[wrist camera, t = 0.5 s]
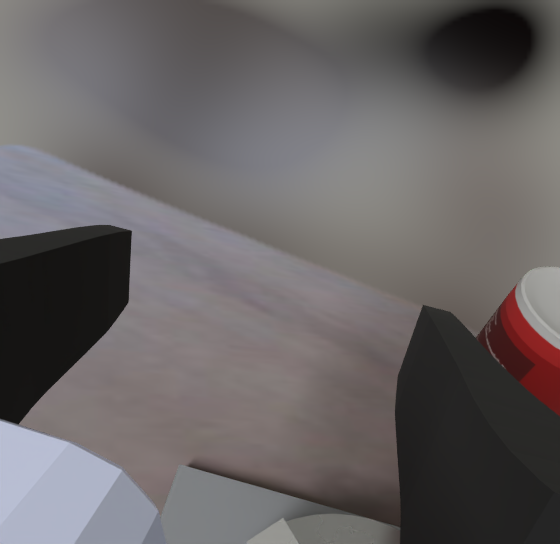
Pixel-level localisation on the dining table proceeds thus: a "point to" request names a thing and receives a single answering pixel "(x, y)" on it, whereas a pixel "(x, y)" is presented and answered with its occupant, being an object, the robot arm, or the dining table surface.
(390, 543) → the round dial
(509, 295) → the canned food
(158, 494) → the dining table surface
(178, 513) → the slate base plate
